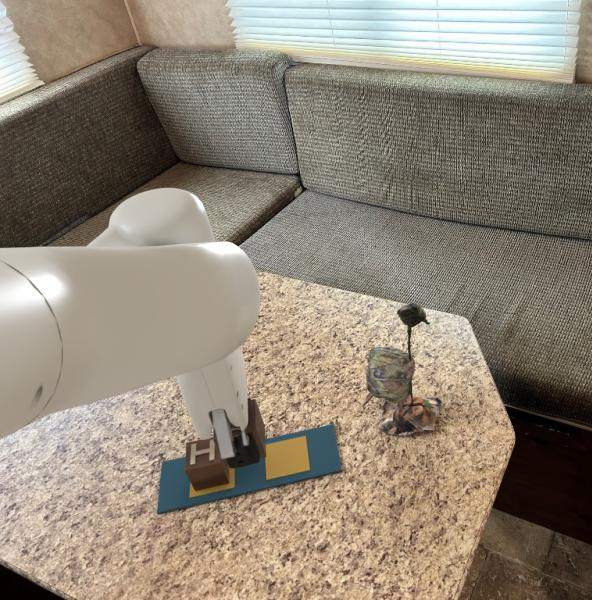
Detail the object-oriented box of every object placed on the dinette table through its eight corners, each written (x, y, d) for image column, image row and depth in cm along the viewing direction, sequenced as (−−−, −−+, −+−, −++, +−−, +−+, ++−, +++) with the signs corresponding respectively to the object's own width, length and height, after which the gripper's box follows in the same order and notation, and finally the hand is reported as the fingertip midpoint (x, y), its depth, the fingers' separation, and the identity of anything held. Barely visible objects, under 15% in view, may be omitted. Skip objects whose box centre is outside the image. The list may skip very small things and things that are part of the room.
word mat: (342, 471, 81) (341, 469, 80) (157, 514, 78) (156, 512, 77) (334, 425, 87) (333, 423, 86) (162, 463, 84) (161, 461, 83)
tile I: (266, 457, 65) (256, 429, 62) (224, 466, 65) (212, 439, 62) (264, 425, 69) (255, 397, 66) (224, 433, 68) (213, 406, 65)
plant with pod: (376, 387, 92) (360, 284, 79) (449, 402, 88) (445, 296, 75) (356, 429, 86) (336, 325, 73) (433, 446, 83) (426, 341, 70)
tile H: (229, 483, 80) (219, 462, 77) (194, 491, 79) (183, 470, 76) (229, 455, 83) (220, 434, 80) (196, 463, 83) (185, 441, 80)
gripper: (162, 275, 61) (211, 395, 73) (145, 398, 48) (208, 520, 60) (237, 261, 62) (274, 382, 74) (239, 378, 49) (284, 502, 61)
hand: (244, 443), depth 67 cm, fingers closed on tile I, 4 cm apart
